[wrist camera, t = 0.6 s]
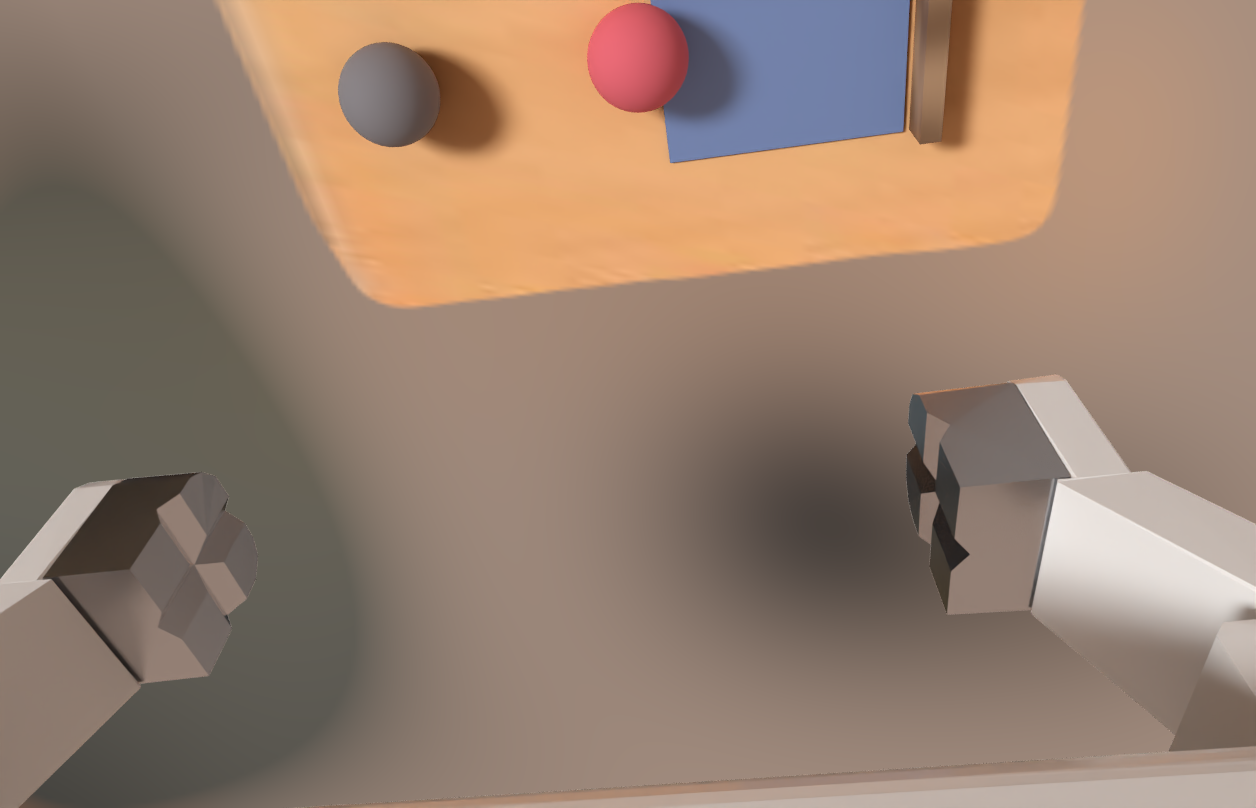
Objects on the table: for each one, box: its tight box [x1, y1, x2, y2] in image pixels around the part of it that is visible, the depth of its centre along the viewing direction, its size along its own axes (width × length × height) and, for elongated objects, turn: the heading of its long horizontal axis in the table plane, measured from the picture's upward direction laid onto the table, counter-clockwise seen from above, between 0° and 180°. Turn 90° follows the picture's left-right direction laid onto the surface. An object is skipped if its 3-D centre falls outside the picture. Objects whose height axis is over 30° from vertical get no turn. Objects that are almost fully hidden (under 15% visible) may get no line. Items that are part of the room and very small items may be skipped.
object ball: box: [587, 3, 689, 113], centre depth 46 cm, size 6×6×6 cm
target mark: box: [651, 0, 910, 163], centre depth 47 cm, size 14×14×1 cm
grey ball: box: [338, 42, 440, 147], centre depth 47 cm, size 6×6×6 cm
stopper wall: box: [909, 0, 952, 144], centre depth 45 cm, size 14×1×2 cm, turn 8°
